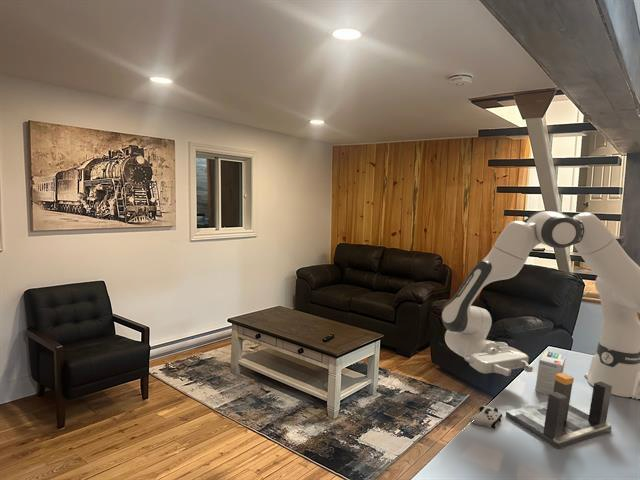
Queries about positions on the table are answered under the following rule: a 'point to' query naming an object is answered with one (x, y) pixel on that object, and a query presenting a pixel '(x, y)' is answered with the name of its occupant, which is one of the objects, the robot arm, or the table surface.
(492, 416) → the game controller
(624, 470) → the table surface
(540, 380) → the light bulb box
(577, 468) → the table surface
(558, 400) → the grey peg stand
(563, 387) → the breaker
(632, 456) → the table surface
